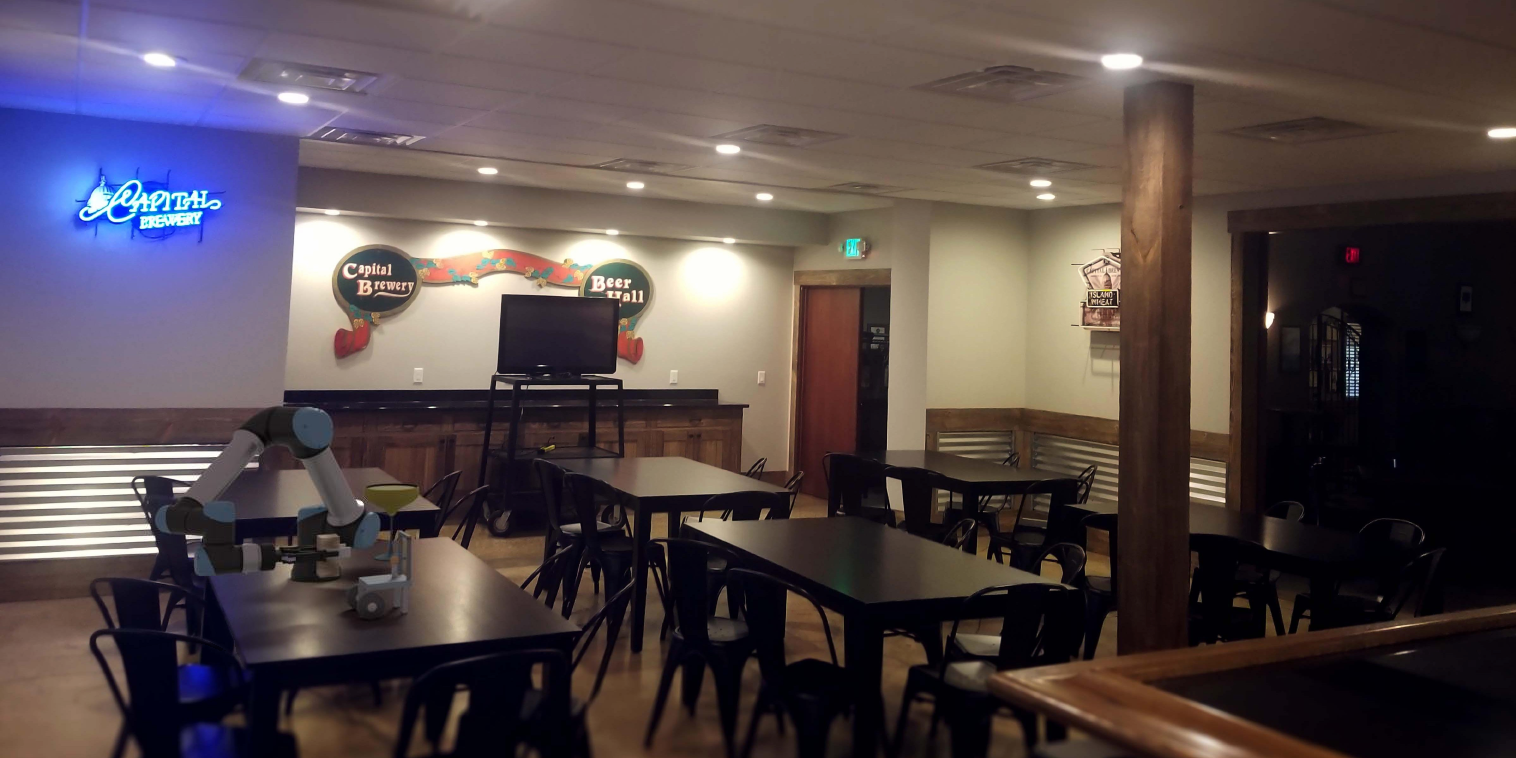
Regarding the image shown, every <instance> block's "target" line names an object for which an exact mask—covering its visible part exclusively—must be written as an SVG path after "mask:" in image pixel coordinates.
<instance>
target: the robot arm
mask: <svg viewBox="0 0 1516 758" xmlns="http://www.w3.org/2000/svg"><path fill="white" fill-rule="evenodd" d="M333 429H334V423H333V421H332V418H331V416H329V414H328V413H327V412H326V411H324V410H323V409H320V408H314V407H311V406H306V407H301V406H300V407H299V406H283V405H274V406H270V407H266V408H264V409H262V410H261V409H260V411H258V412H256V413H254V414H253V415H252V416H250V417H249V418H248V419H246V420H245V421H244V422H243V423H242V424H241V425H240V426H238V428H236V430H235V431H234V432H233V435H232V440H231V441H230V442H229V443H228V445H227V446H226V447H225V448H224V449H223V450H222V451H221V452H220V453H219V454H218V456H217V457H216V458H215V459H214V460H213V462H211V463H210V465H209V466H208V467H207V468H206V469H205V470H204V471H203V472H202V474H201V475H200V476H198V478H197V479H196V480H195V481H194V482H193V483H192V485H191V486H190V487H189V488H188V489H187V490H186V491H185V492H184V494H183V495H182V496H181V497H180V499H178V500H177V502H176V503H175V504H166V505H163V506H161V507H160V508H159V509H158V510H157V512H156V514H155V517H154V518H155V519H154V522H155V523H154V524H155V526H156V527H157V529H158V530H159V531H160V532H162V533H167V534H170V535H185V536H193V537H194V536H197V537H202V538H203V540H202V541H203V545H202V547H197V548H195V550H194V554H193V556H194V557H193V566H194V568H193V569H194V573H195V575H197V576H199V577H203V576H204V577H206V576H207V577H208V576H214V577H216V576H221V575H222V576H223V575H234V574H242V573H244V575H249V574H250V573H255V572H258V571H260V572H268V571H269V572H271V571H274V570H275V569H276V566H277V565H276V564H277V563H282V564H283V565H292V564H293V565H292V568H291V571H290V580H293V581H297V582H303V583H304V582H305V583H312V582H315V583H316V582H317V583H318V582H325V581H332V580H336V579H339V578H341V577H342V575H343V572H342V571H343V569H342V566H341V565H340V563H339V576H333V577H322V578H320V577H319V576H318V575H317V574H316V568H317V561H324V562H326V559H334V558H340V559H343V558H346V559H347V558H351V557H352V556H351V549H355V550H359V549H361V550H362V549H363V550H364V549H369V548H371V547H372V546H373V545H374V544H375V542H376V541H377V539H378V536H379V534H380V529H381V519H380V516H379V514H377V513H376V512H373V511H372V510H371V511H368V510H367V509H366V506H365V505H364V503H363V501H361V500H360V499H356V498H355V496H354V494H353V492H352V490H351V488H350V486H349V484H348V482H347V480H346V477H345V476H344V474H343V472H342V470H341V468H340V466H339V464H338V462H337V460H336V458H335V456H334V454H333V452H332V450H331V447H330V446H331V444H332V440H333V437H334V430H333ZM273 446H278V447H287V448H288V449H289V451H290V453H291V455H292V457H293V458H294V459H296V460H299V461H301V463H302V464H303V466H304V468H305V470H306V472H307V473H308V476H309V478H310V479H311V481H312V483H313V485H314V488H315V489H316V491H317V492H318V495H319V496H320V498H321V500H322V503H323V504H314V505H308V506H304V507H301V508H300V509H299V510H298V512H297V519H296V545H295V546H280V547H278V549H277V548H276V545H275V543H274V542H262V543H259V544H258V543H249V544H248V543H247V544H238V545H236V544H235V542H236V540H235V539H236V537H235V536H236V510H235V504H234V502H232V501H229V500H227V501H226V500H218V499H219V498H221V496H222V495H223V493H225V492H226V490H227V489H228V487H230V485H232V483H233V482H234V481H235V480H236V479H237V477H238V476H239V475H240V474H241V473H242V472H243V470H244V469H245V468H246V467H247V466H248V465H249V464H250V462H251V461H252V460H253V459H254V458H255V457H256V456H259V455H262V454H263V453H264V452H265V451H266V449H268V448H270V447H273ZM329 534H336V535H338V536H339V537H340V548H333V549H326V550H317V535H329Z"/></svg>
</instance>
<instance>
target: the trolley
mask: <svg viewBox="0 0 1516 758" xmlns="http://www.w3.org/2000/svg"><path fill="white" fill-rule="evenodd" d="M397 534H398V535H397V536H398V537H397V554H398V557H396V556H393V557H392V558H391V560H390V561H389V562H390V564H391V574H382V575H381V574H379V575H370V576H362V577H361V576H360V577H358V583H355V584H353V585H351V586H350V587H348V589H347V591H346V593H345V597H344V598H345V602H346V604H347V605H348V606H349V607H350V608H352V609H353V610H356V611H357V613H358V615H359V616H361V617H362V618H363V619H365V620H368V621H373V620H376V619H378V618H380V617H381V616H382V614H383V613H384V612H385V608H386V604H385V600H384V598H382V596H381V595H379V594H377V593H376V592H373V591H381V590H383V591H384V590H390V589H393V607H394V608H401V613H402V614H408V613H409V587H412V586H413V580H412V579H411V578H412V535H410V534H408V533H407V532H405V531H403V530H398V532H397ZM404 539H405V540H406V558H405V559H406V563H405V564H406V565H405V566H406V567H405V569H406V570H405V573H406V574H403V559H402V555H404V554H403V551H404V550H403V545H404V544H403V543H404Z"/></svg>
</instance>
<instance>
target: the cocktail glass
mask: <svg viewBox="0 0 1516 758" xmlns="http://www.w3.org/2000/svg"><path fill="white" fill-rule="evenodd" d="M419 495H420V486H419V485H417V484H412V483H399V482H398V483H394V482H391V483H377V484H369V485H367V486H365V487H364V498H365V500H367V502H369V503H371V504H372V505H375V506H376V507H379V508H381V509H382V510H384V511H385V512H386V514H387V515H388V516H389V517H390V530H389V531H390V534H389V535H390V537H389V550H388V552H387V553H385V554H379V555H376V556H375V557H374V559H375V560H377V561H382V562H383V561H384V562H386V561H387V562H391V561H390V560H391V558H392V557H393V556H396V557H398V553H395V552H394V547H393V518H394V516H395V515H396V514H397V513H398V511H399V510H400V509H402V508H404V507H406V506H408V505H410V504H411V503H413V502H415V501H416V500H417V499H418V498H419ZM406 556H407V554H403V555H402V560H405V559H406Z"/></svg>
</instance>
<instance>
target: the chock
mask: <svg viewBox="0 0 1516 758" xmlns="http://www.w3.org/2000/svg"><path fill="white" fill-rule="evenodd" d="M333 548H340V537H339V536H338V535H336V534H329V535H317V550H326V549H333ZM340 559H341V558H334V559H326V562H324V561H317V568H316V574H317V575H318V576H319V577H320V578H322V577H333V576H339V564H340Z"/></svg>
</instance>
